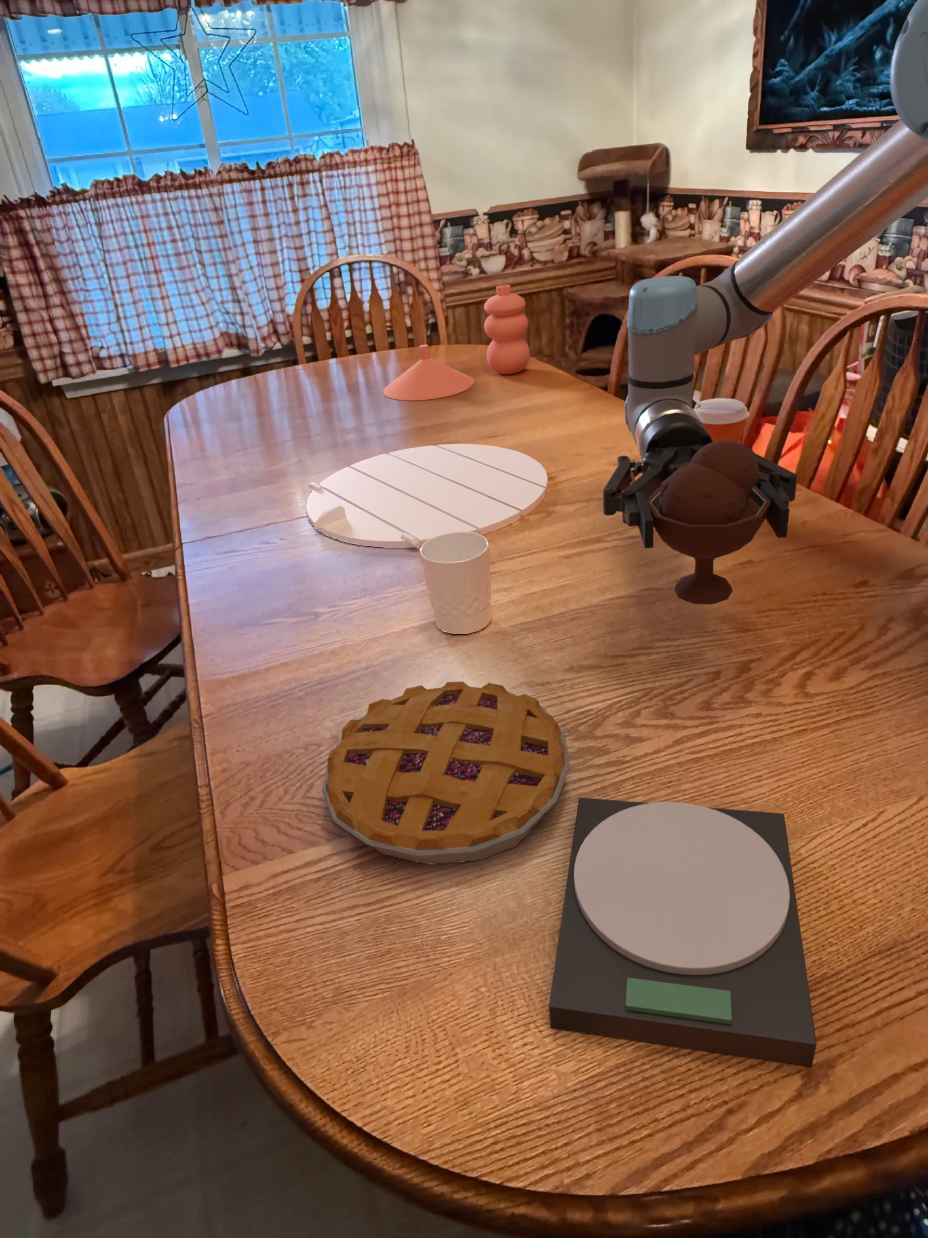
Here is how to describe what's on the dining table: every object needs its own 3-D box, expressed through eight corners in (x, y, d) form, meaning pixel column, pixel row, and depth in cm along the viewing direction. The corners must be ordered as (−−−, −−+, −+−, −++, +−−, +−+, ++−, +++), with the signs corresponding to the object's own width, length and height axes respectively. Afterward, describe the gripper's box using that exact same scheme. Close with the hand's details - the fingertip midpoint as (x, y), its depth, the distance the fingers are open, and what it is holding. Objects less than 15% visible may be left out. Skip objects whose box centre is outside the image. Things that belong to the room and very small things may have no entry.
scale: (781, 835, 65) (785, 805, 64) (812, 1067, 50) (818, 1037, 48) (579, 817, 69) (578, 789, 68) (550, 1029, 54) (547, 999, 52)
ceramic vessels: (392, 406, 177) (378, 315, 167) (376, 382, 195) (362, 299, 185) (545, 378, 183) (540, 289, 173) (516, 358, 201) (510, 276, 191)
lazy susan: (382, 578, 110) (378, 555, 108) (263, 501, 138) (258, 481, 136) (599, 486, 128) (599, 466, 126) (454, 435, 156) (452, 417, 155)
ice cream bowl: (689, 554, 87) (694, 416, 79) (785, 587, 79) (801, 437, 71) (623, 593, 82) (621, 449, 74) (719, 632, 74) (728, 476, 66)
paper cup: (685, 509, 118) (688, 414, 111) (689, 488, 124) (692, 397, 117) (742, 511, 116) (749, 414, 108) (743, 489, 122) (750, 396, 114)
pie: (294, 872, 67) (281, 829, 65) (367, 708, 86) (359, 669, 83) (560, 892, 63) (557, 846, 60) (578, 714, 81) (577, 673, 78)
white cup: (482, 642, 94) (474, 565, 89) (420, 634, 97) (408, 559, 92) (505, 607, 100) (498, 533, 95) (446, 601, 103) (436, 529, 98)
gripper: (778, 467, 92) (847, 556, 73) (569, 485, 94) (584, 576, 76) (784, 401, 88) (859, 478, 70) (566, 421, 91) (581, 500, 72)
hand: (716, 529), depth 73 cm, fingers closed on ice cream bowl, 11 cm apart
